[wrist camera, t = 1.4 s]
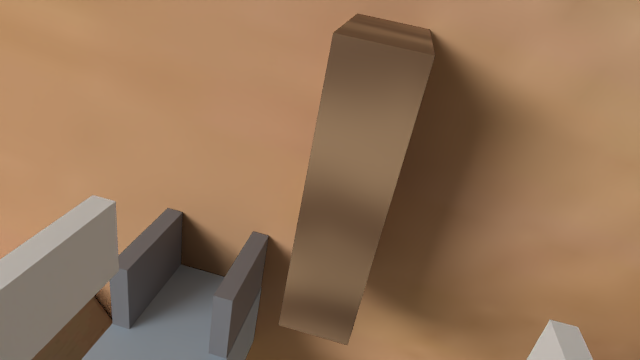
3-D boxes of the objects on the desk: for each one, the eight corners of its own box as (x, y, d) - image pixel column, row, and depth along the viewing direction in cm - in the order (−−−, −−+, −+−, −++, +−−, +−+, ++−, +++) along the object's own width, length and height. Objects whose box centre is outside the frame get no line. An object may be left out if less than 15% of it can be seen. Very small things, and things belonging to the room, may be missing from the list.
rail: (356, 13, 24) (331, 32, 17) (431, 29, 23) (437, 56, 16) (308, 244, 31) (276, 324, 24) (364, 259, 31) (349, 345, 24)
